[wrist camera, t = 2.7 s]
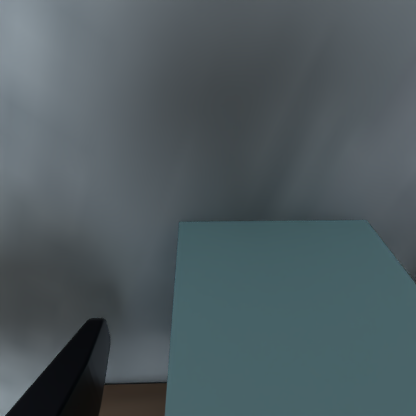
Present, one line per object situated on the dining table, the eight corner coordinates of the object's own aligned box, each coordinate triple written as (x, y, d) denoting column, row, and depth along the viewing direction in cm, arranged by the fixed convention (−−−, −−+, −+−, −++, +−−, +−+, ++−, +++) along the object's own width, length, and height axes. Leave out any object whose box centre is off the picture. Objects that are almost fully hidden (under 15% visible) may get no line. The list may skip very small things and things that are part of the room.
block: (327, 335, 12) (403, 530, 7) (184, 338, 11) (178, 538, 7) (364, 218, 9) (518, 416, 5) (179, 220, 9) (164, 427, 4)
